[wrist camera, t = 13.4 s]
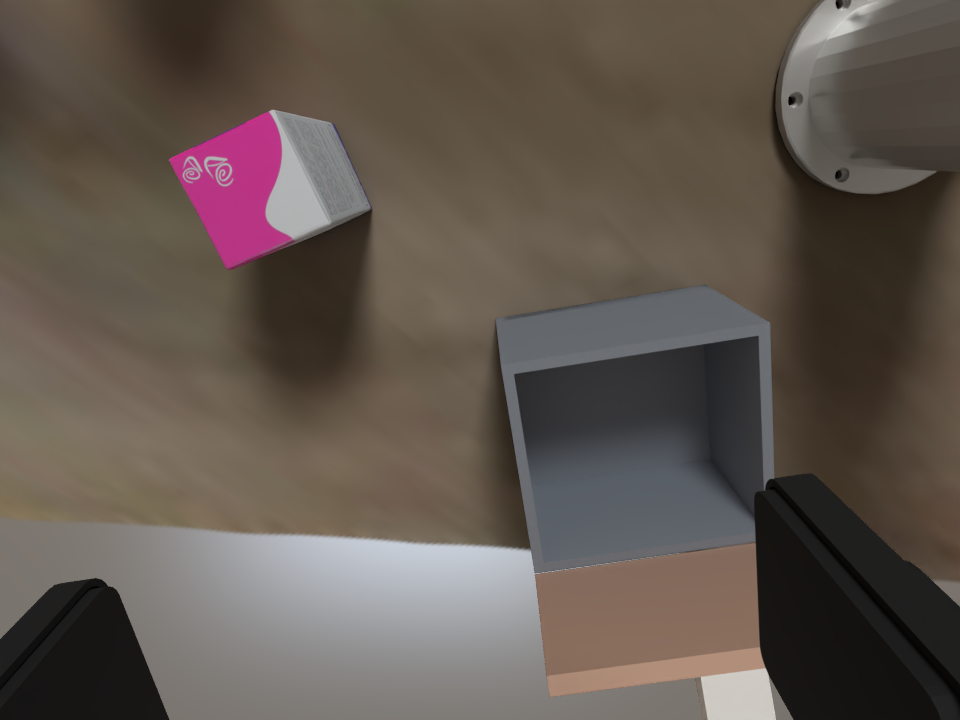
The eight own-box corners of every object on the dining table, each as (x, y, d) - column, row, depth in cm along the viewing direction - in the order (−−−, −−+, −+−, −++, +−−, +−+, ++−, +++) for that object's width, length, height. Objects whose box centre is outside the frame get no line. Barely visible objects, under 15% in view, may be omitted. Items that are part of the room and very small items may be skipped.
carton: (705, 284, 43) (770, 322, 33) (715, 460, 47) (776, 538, 37) (495, 318, 43) (501, 365, 34) (523, 489, 47) (534, 573, 38)
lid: (918, 625, 24) (951, 810, 24) (776, 539, 37) (797, 659, 37) (546, 675, 25) (575, 856, 25) (535, 574, 38) (553, 691, 38)
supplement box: (332, 118, 39) (277, 105, 29) (374, 209, 41) (337, 231, 30) (248, 156, 40) (163, 158, 29) (293, 245, 42) (228, 278, 31)
